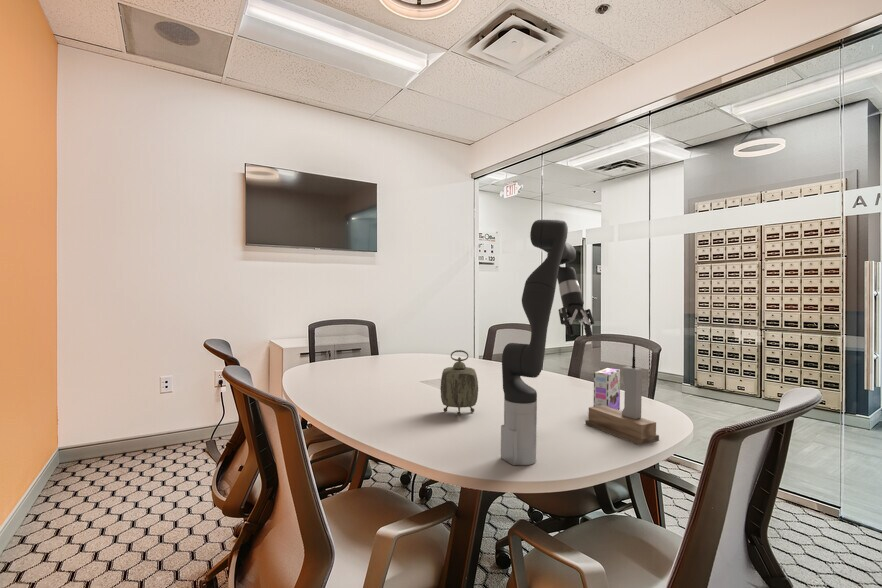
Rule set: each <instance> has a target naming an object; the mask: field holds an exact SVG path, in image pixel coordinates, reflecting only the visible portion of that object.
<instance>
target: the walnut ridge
mask: <svg viewBox="0 0 882 588" xmlns="http://www.w3.org/2000/svg"><path fill="white" fill-rule="evenodd" d="M593 406H594V405H593ZM593 406H589V407H588V419H586V420H585V425H586V424H587V425H586V426H588V425H589V426H588V427H591V428H594V429H596V430H599V431H601V432H605V433H606V434H609V435H611V436H612V435H613V436H615V437H617V438H620V439H622V440H624V441H628V442H630V443H633V444H635V445H637V446H639V445H642V444H646V443H651V442H652V443H653V442H657V441H659V440H660V435H659V434H657V422H656V421H654V420H651V419H647V418H644V417H641V418H638V419H636V420H635V419H631V418H627V417H624V416H622V411H623V410H620V409H618V410H616V409H613V408H610V407H607V406H603V405H601V406H594V407H593Z"/></svg>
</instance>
